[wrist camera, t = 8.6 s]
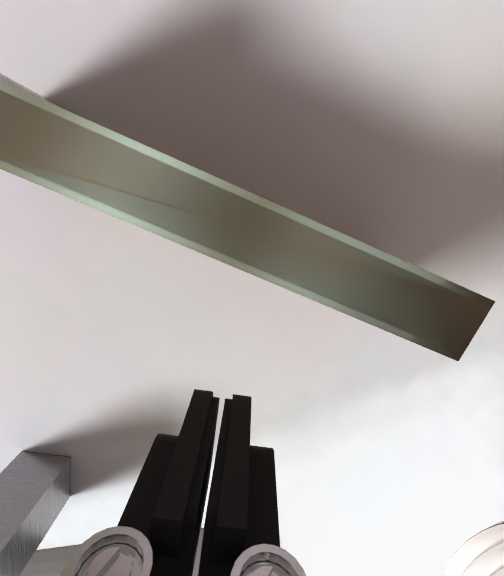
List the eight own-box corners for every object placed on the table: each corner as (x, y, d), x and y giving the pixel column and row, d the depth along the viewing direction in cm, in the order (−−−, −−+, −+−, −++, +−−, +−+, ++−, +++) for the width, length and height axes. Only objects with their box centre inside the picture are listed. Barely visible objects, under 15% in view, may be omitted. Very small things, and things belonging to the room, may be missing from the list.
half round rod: (-24, 549, 23) (-47, 577, 21) (254, 511, 22) (254, 537, 20) (-3, 594, 24) (-24, 625, 22) (263, 560, 23) (265, 588, 21)
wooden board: (68, 168, 15) (-90, 130, 8) (80, 126, 15) (-76, 46, 8) (370, 298, 17) (458, 361, 10) (388, 262, 16) (495, 301, 9)
